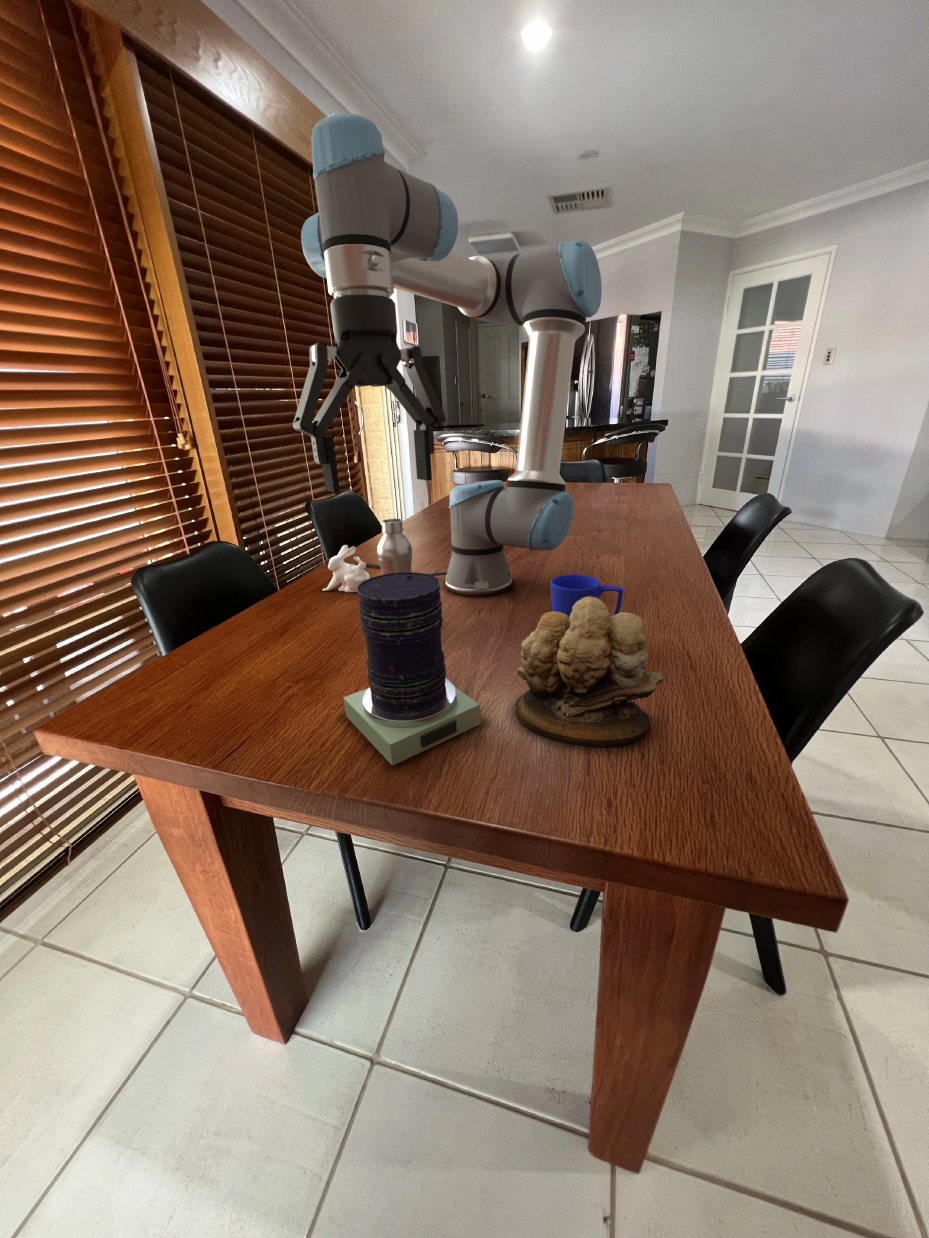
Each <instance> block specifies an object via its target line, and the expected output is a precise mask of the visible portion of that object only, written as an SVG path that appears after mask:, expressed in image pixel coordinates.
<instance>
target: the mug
mask: <svg viewBox="0 0 929 1238" xmlns="http://www.w3.org/2000/svg"><path fill="white" fill-rule="evenodd" d="M604 592H617V593H618V595H617V600H616V601H617V602H616V605H615V606H616V607H615V610H614V612H613V613H614V614H613V615H616V614H618V613H620V612H621V608H622V601H623V596H624V588H623V587H621V586H615V585H601V581H600V580H598V579H597V578H595V577H593V576H589V575H584V574H562V575H558V576H554V577H552V579H551V580H550V599H551V600H550V601H551V602H550V603H551V612H552V611H555V612H556V611H557V612H561V613H564V614H566V615H567V616H568V617H569V616H570V615H571V612H572V607H573V605H574V604H575V603H576V602H577V601H579V600H581V599H582V598H585V597H589V596H591V597H596V598H598V599H599V600H600V598H601V595H602V594H603V593H604ZM569 619H570V618H569Z"/></svg>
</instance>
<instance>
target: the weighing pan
mask: <svg viewBox="0 0 929 1238" xmlns="http://www.w3.org/2000/svg"><path fill="white" fill-rule="evenodd" d="M445 686H446V696H445V698H444V700H443V701H442V702H441V703H440V704H439V705H438V706H436V707H435V708H433V709H431V710H429V711H426V712H423V713H419V714H414V715H392V714H388V713H385V712H382V711H380V710H378V709H377V708H376V707H375V706H374V705H373V703H372V700H371V690H370V686H369V687H368V688H366V689H367V690H366V692H365V694H364V696H363V708H364V712H365V714H366V715H367V716H368V718H370V719H371V720H372V721H374V722H376V723H378V724H380V725H384V726H388V727H394V728H411V727H418V726H423V725H426V724H430V723H432V722H435V721H437V720H439V719H441V718H443V717H444V716H446V715H447V714H448V713H449V712H450V711H451V710H452V709H453V707H454V705H455V703H456V690H455V688H456V686H455V685H454V683H453V682H452V681H451V680H450V679H448V678H447V677H445Z"/></svg>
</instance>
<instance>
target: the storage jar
mask: <svg viewBox="0 0 929 1238" xmlns="http://www.w3.org/2000/svg"><path fill="white" fill-rule="evenodd" d="M428 574H429V573H423V572H414V571H411V572H400V573H390V574H384V575H382V574H380V575H375V576H373V577H370V579H367V580H365V581H363V582H362V583H360V584H359V585H358V587H357V591H358V592H357V597H358V606H359V608H358V612H359V619H360V621H361V622H360V623H361V625H360V628H361V630H362V634H363V636H364V637H365V647H366V653H367V659H366V670H367V672H366V674H367V682H368V683H367V684H368V686H369V687H370V690H371V700H372V703H373V705H374V706H375V707H376V708H377V709H378V710H380V711H382V712H385V713H388V714H392V715H414V714H419V713H423V712H426V711H429V710H431V709H433V708H435V707H436V706H438V705H439V704H440V703H441V702H442V701H443V700H444V698H445V696H446V686H445V678H447V669H446V668H447V667H446V663H445V652H444V651H443V647H442V646H443V645H442V632H441V631H442V628H443V621H444V620H443V615H442V613H443V602H442V600H441V598H442V597H441V592H440V591H441V584H440V580H439V578H437V576H432V575H428Z"/></svg>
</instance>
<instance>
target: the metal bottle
mask: <svg viewBox="0 0 929 1238" xmlns="http://www.w3.org/2000/svg"><path fill="white" fill-rule="evenodd" d="M403 525H404V523H403V519H402V518H386V519H383V520H381V532H382V533H383V535H382V537H381V538H380V540H379V543H378V545H377V548H376V556H377V559H378V563H379V565H380V567H381V568H380V570H381V575H384V574H390V573H400V572H412V565H413V547H412V543H411V542H410V541H409V539H408V538H407V537H406V536H405V534H404V533H403V531H404V526H403Z"/></svg>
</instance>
